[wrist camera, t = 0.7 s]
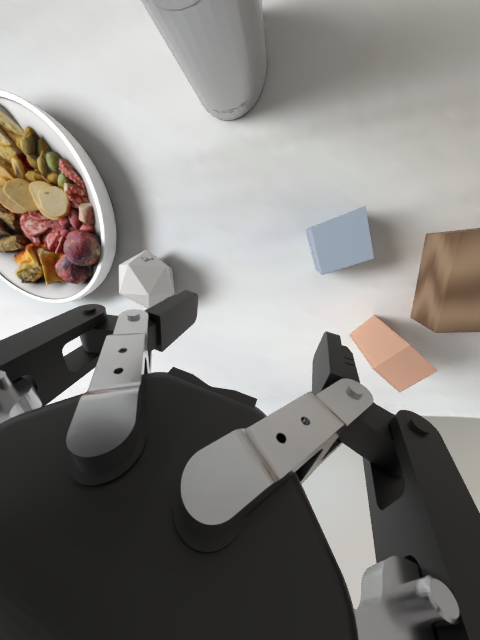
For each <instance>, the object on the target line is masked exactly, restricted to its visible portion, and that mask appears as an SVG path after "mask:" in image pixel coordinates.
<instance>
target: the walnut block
mask: <svg viewBox="0 0 480 640" xmlns="http://www.w3.org/2000/svg"><path fill="white" fill-rule="evenodd" d="M411 318H412V319H414V320H416V321H417V322H419V323H421V324H422V325H424V326H426V327H427V328H429V329H431V330H432V331H434V332H436V333H448V332H480V228H476V229H467V230H458V231H449V232H440V233H431V234H426V238H425V243H424V248H423V254H422V259H421V264H420V270H419V275H418V280H417V286H416V291H415V296H414V301H413V307H412V312H411Z"/></svg>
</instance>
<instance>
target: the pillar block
mask: <svg viewBox="0 0 480 640" xmlns="http://www.w3.org/2000/svg"><path fill="white" fill-rule="evenodd" d="M349 335H350V337H351V338H352V340H353V341H354V342H355V344H356V345H357V347H358V348H359V350H360V351H361V352H362V354H363V355H364V357H365V358H366V360H367V361H368V362H369V364H370V365H371V367H372V368H373V369H374V370H375V371H376V372H377V373H378V374H379V375H380V376H382V377H383V378H384V379H385V380H386V381H387V382H388V383H389V384H391V385H392V386H393V387H394V388H395V389H396V390H397V391H398V392H399V393H400V392H401V391H403V390H405V389H407V388H408V387H410V386H412V385H414V384H416V383H417V382H419V381H421V380H423V379H424V378H426V377H428V376H430V375H431V374H433V373H435V372H437V371H438V370H437V369H436V368H434V367H433V366H432V365H431V364H430V363H429V362H428V361H427V360H426V359H425V358H424V357H423V356H422V355H420V354H419V353H418V352H417V351H416V350H415V349H414V348H413V347H412V346H411V345H410V344H409V343H407V342H406V341H405V340H404V339H402V338H401V337H400V336H399V335H398V334H396V333H395V332H394V331H393V330H392V329H390V328H389V327H388V326H387V325H385V324H384V323H383V322H382V321H381V320H379V319H378V318H377V317H376V316H375V315H374V316H373V317H371V318H370V319H369V320H367V321H366V322H365V323H363V324H362V325H361V326H360V327H358V328H357V329H356V330H354V331H353V332H352V333H351V334H349Z"/></svg>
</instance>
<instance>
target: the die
mask: <svg viewBox="0 0 480 640" xmlns="http://www.w3.org/2000/svg"><path fill="white" fill-rule="evenodd" d="M119 294H121V295H123V296H125V297H127V298H129V299H131V300H133V301H135V302H137V303H139V304H141V305H142V306H144V307H146V308H148V309H149V308H150V307H152V306H154V305H156V304H158V303H159V302H161V301H163V300H164V299H166V298H168V297H170V296H172V295H174V294H175V292H174V282H173V272H172V268H171V267H170V266H168V265H167V264H165V263H164V262H163V261H161V260H160V259H159V258H157V257H156V256H155V255H153V254H152V253H150V252H149V251H148V250H145V251H143V252H141V253H139V254H138V255H136V256H134V257H132V258H130V259H129V260H127V261H125V262H123V263H122V264H120V265H119Z"/></svg>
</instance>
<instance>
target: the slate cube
mask: <svg viewBox="0 0 480 640" xmlns="http://www.w3.org/2000/svg"><path fill="white" fill-rule="evenodd" d="M306 233H307V237H308V241H309V245H310V249H311V253H312V257H313V261H314V265H315V269H316V270H317V271H319V272H320V273H321V274H322V275H323V274H327V273H330V272H333V271H336V270H339V269H342V268H346V267H349V266H352V265H355V264H358V263H361V262H365V261H368V260H371V259H374V255H373V249H372V243H371V236H370V230H369V224H368V218H367V212H366V206H364V207H362V208H359V209H357V210H354V211H351V212H349V213H346V214H344V215H341V216H339V217H336V218H333V219H331V220H328V221H326V222H323V223H321V224H318V225H315V226H313V227H310V228H308V229H306Z"/></svg>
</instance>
